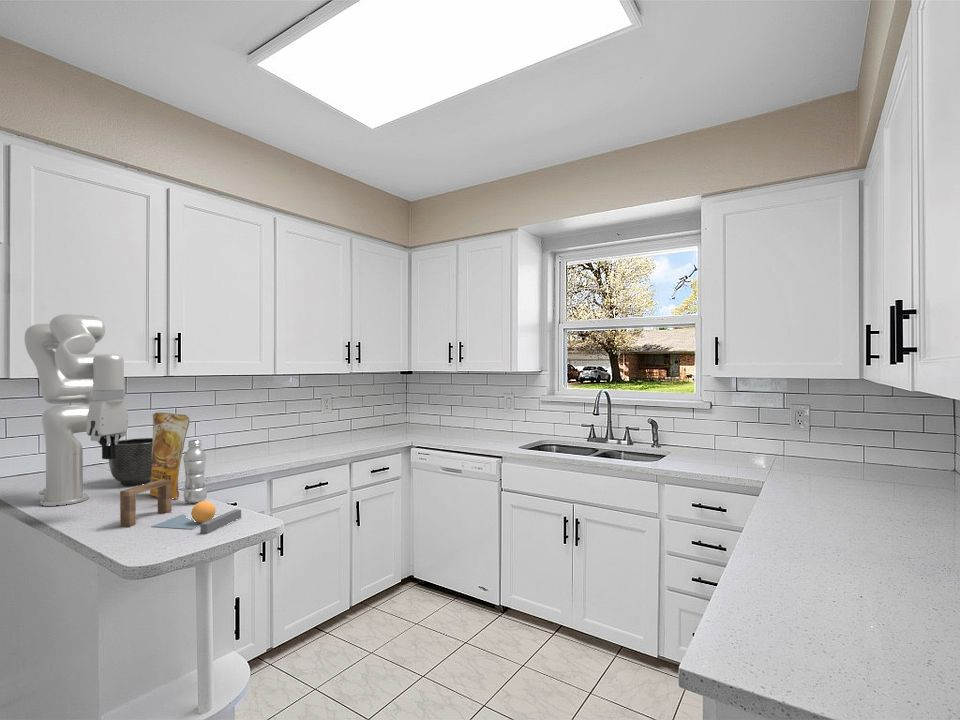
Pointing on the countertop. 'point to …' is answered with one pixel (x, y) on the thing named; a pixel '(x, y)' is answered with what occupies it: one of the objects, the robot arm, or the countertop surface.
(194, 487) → the plastic bottle
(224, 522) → the stopper
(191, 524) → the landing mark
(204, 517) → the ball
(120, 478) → the planter
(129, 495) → the bridge
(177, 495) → the pancake mix bag
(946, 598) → the countertop surface
